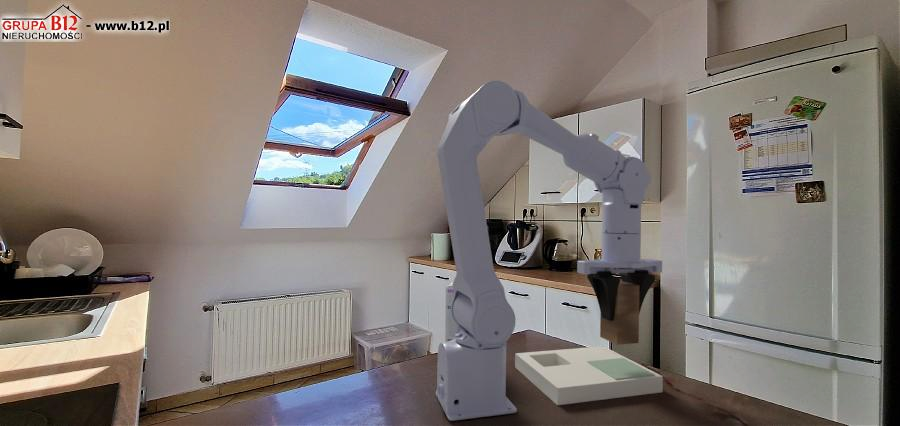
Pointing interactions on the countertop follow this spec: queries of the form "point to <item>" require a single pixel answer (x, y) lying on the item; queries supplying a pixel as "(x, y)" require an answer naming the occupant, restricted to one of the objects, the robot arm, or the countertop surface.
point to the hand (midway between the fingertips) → (619, 318)
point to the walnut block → (623, 316)
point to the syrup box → (450, 323)
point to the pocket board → (581, 375)
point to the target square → (620, 368)
